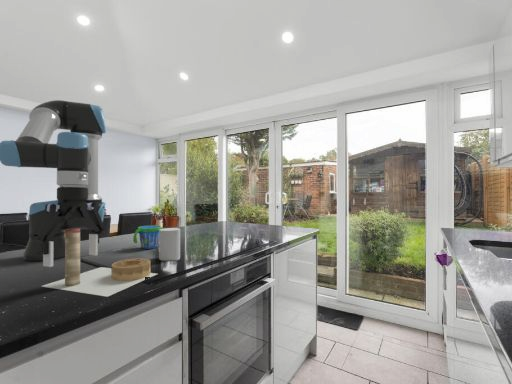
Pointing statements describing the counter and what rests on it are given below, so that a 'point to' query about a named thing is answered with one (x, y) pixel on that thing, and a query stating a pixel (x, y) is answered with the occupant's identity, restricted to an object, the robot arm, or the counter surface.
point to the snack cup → (148, 236)
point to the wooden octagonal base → (130, 269)
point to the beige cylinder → (72, 256)
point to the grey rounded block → (169, 244)
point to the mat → (96, 283)
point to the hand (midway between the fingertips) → (72, 260)
